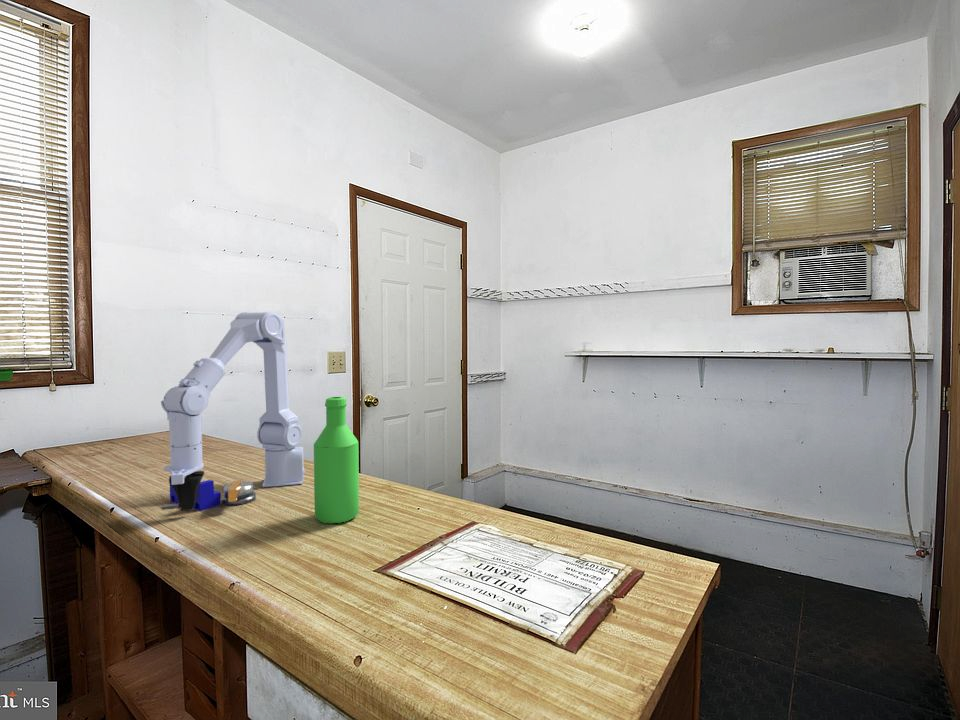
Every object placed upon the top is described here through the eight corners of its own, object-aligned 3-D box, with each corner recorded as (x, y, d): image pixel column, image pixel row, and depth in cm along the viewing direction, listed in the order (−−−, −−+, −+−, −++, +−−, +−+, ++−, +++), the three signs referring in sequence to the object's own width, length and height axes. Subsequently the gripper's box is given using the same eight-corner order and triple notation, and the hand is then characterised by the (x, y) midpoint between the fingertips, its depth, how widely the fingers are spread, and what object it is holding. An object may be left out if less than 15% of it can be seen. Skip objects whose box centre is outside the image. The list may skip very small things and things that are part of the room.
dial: (226, 491, 112) (226, 476, 112) (254, 489, 114) (254, 474, 114) (216, 508, 101) (216, 491, 101) (248, 505, 103) (247, 488, 103)
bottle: (346, 527, 95) (345, 401, 94) (306, 523, 97) (304, 399, 95) (365, 511, 103) (364, 395, 102) (328, 508, 105) (327, 394, 104)
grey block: (180, 504, 108) (180, 502, 108) (177, 507, 106) (177, 505, 106) (164, 505, 107) (164, 504, 107) (161, 509, 105) (161, 507, 105)
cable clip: (220, 505, 108) (220, 479, 107) (200, 511, 104) (200, 484, 103) (190, 496, 114) (189, 471, 113) (170, 502, 110) (169, 476, 109)
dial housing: (257, 494, 115) (257, 489, 115) (253, 503, 108) (253, 499, 108) (224, 497, 113) (224, 492, 113) (218, 507, 106) (218, 502, 106)
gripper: (173, 438, 105) (175, 499, 106) (152, 453, 92) (154, 524, 92) (210, 436, 108) (211, 496, 108) (194, 451, 94) (196, 519, 94)
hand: (187, 508), depth 100 cm, fingers closed
